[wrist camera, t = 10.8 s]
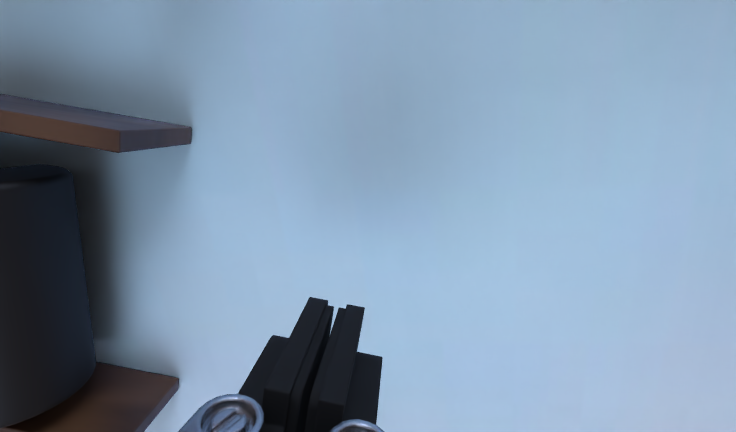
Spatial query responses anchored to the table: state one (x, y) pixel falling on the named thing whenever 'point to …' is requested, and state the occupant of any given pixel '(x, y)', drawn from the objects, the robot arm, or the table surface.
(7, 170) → the end cap
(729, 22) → the table surface
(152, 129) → the wooden u-shaped shelf
